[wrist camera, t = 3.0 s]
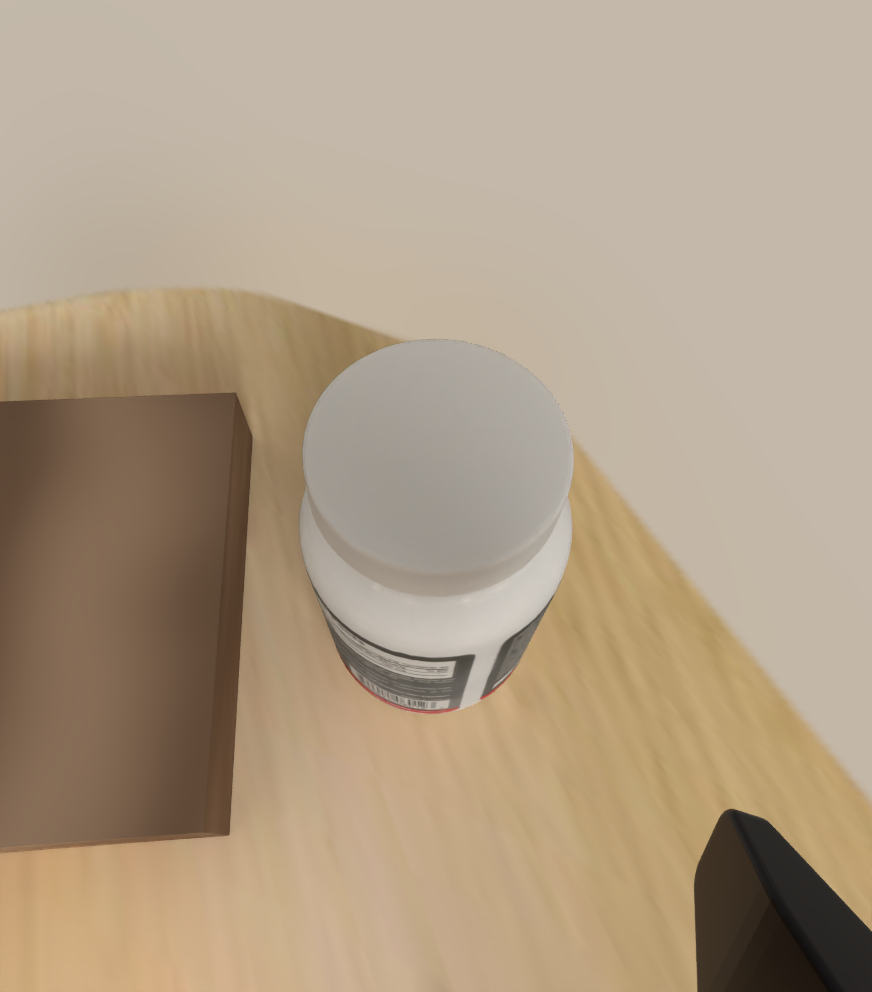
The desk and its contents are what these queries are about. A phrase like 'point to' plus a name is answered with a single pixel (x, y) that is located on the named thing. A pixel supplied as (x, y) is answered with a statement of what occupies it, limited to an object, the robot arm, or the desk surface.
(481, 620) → the pill bottle
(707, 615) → the desk surface
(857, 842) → the desk surface
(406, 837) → the desk surface
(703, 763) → the desk surface
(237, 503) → the block
